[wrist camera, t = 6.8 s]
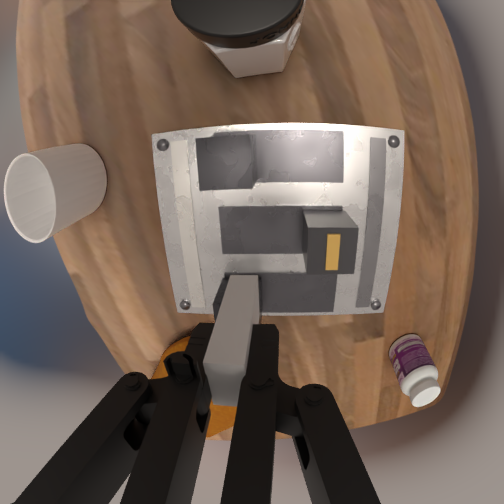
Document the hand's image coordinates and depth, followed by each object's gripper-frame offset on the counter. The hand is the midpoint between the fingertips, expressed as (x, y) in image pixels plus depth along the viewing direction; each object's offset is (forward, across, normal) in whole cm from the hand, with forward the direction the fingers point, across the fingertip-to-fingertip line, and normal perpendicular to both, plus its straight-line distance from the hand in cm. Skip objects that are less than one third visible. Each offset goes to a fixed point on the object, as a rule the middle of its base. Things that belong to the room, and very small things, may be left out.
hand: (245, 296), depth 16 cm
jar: (+15, 0, +18) cm, 24 cm away
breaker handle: (+12, +6, 0) cm, 13 cm away
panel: (+14, +2, -1) cm, 14 cm away
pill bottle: (+14, +20, -19) cm, 31 cm away
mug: (+15, -23, +5) cm, 28 cm away
